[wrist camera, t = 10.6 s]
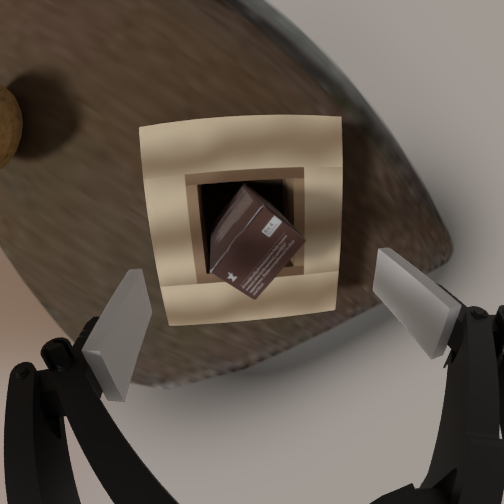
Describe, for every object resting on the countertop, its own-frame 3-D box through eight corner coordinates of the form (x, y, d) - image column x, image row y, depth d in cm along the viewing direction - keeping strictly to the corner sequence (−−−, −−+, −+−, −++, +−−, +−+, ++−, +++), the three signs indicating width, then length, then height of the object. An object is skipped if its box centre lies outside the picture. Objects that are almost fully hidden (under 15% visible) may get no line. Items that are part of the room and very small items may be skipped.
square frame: (152, 130, 26) (139, 127, 22) (323, 120, 28) (341, 117, 23) (175, 302, 33) (169, 325, 29) (321, 288, 35) (334, 309, 30)
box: (243, 247, 32) (254, 304, 21) (210, 224, 31) (203, 270, 19) (277, 205, 31) (309, 241, 19) (244, 179, 29) (258, 200, 18)
